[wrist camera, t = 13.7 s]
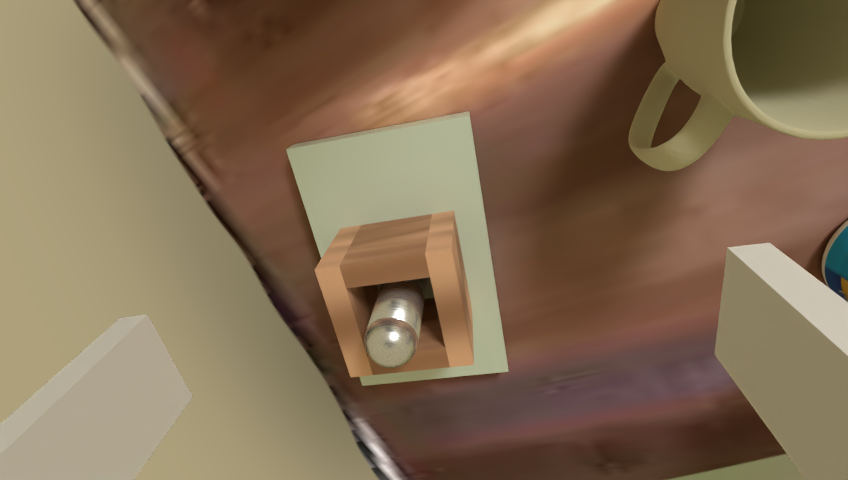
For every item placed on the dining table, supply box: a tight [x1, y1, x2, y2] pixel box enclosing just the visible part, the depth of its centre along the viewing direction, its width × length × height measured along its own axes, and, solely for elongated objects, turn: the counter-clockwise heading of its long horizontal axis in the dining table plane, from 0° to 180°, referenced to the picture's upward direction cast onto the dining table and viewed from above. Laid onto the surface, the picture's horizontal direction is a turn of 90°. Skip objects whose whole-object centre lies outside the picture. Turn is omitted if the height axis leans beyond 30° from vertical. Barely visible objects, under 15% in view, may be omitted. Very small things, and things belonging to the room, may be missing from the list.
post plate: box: [286, 111, 509, 386], centre depth 33 cm, size 20×12×2 cm, turn 11°
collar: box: [315, 211, 474, 377], centre depth 30 cm, size 8×8×6 cm
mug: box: [628, 0, 848, 171], centre depth 21 cm, size 11×10×12 cm
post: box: [364, 278, 428, 368], centre depth 28 cm, size 3×3×10 cm
